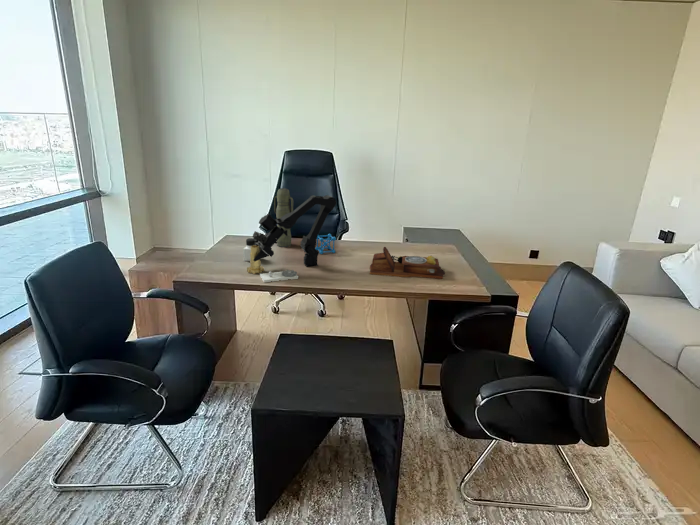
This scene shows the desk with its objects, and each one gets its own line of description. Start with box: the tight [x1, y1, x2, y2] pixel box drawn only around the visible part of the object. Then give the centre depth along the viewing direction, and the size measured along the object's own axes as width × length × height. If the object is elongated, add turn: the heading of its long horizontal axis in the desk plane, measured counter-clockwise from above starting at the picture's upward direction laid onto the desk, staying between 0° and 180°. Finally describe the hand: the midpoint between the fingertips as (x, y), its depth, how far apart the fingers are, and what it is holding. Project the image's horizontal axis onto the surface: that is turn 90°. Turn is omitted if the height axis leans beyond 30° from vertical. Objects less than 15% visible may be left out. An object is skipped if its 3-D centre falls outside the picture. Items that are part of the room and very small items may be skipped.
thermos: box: [273, 187, 294, 248], centre depth 254 cm, size 9×12×35 cm
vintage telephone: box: [369, 246, 446, 280], centre depth 223 cm, size 24×12×40 cm
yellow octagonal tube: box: [246, 245, 265, 275], centre depth 211 cm, size 8×8×13 cm
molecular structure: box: [315, 233, 337, 255], centre depth 248 cm, size 10×10×10 cm
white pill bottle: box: [243, 237, 257, 262], centre depth 228 cm, size 7×7×12 cm
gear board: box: [259, 269, 299, 283], centre depth 205 cm, size 17×9×4 cm, turn 113°
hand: (252, 259), depth 210 cm, fingers open, 6 cm apart
